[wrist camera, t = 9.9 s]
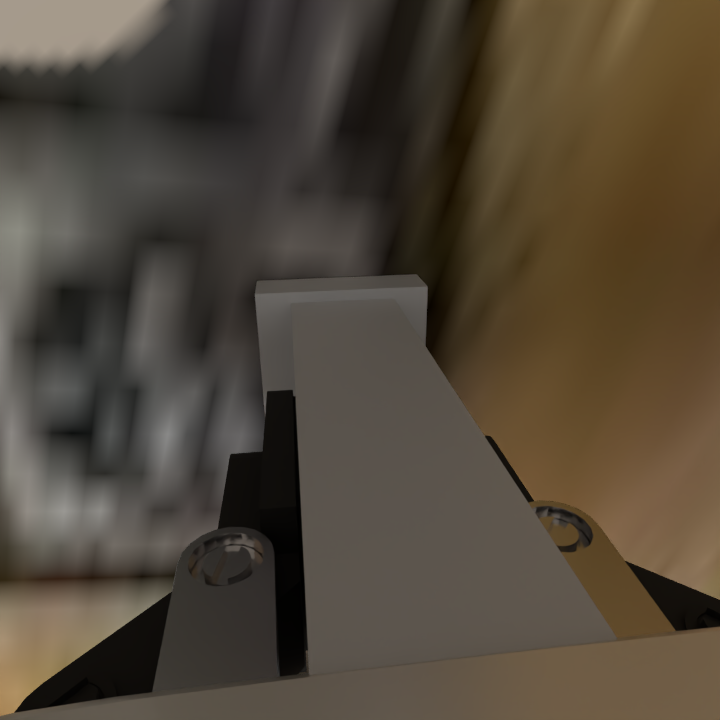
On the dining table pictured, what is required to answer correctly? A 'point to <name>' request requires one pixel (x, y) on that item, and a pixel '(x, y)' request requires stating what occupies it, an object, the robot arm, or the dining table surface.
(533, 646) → the grey parking meter
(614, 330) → the dining table surface
